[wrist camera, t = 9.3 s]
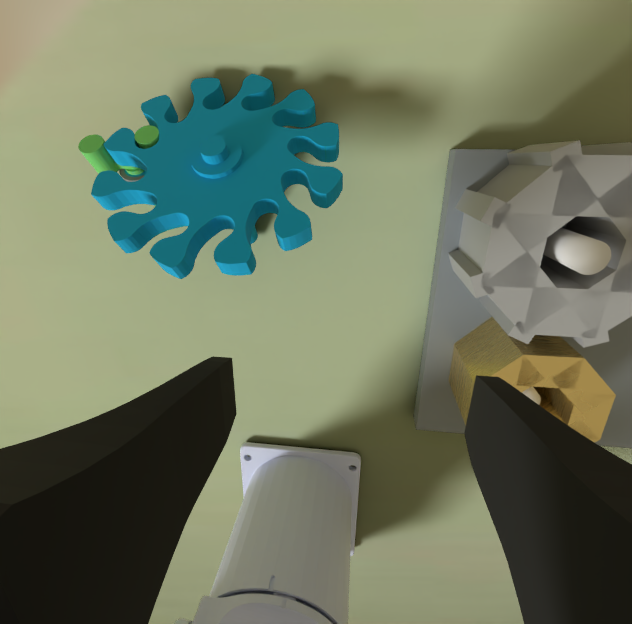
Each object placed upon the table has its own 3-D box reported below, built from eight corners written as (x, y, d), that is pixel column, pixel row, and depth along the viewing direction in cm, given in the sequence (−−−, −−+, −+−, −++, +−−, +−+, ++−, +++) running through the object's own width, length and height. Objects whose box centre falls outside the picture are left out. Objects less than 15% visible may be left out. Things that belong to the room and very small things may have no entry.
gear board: (681, 438, 21) (787, 531, 16) (413, 416, 23) (428, 494, 17) (821, 148, 16) (1060, 142, 10) (450, 145, 17) (490, 138, 12)
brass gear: (575, 319, 18) (628, 360, 15) (548, 412, 20) (589, 468, 17) (458, 315, 19) (481, 352, 15) (444, 405, 21) (461, 457, 17)
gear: (373, 78, 15) (295, 291, 11) (364, 182, 20) (309, 349, 17) (135, 43, 17) (3, 217, 13) (185, 147, 22) (101, 291, 19)
